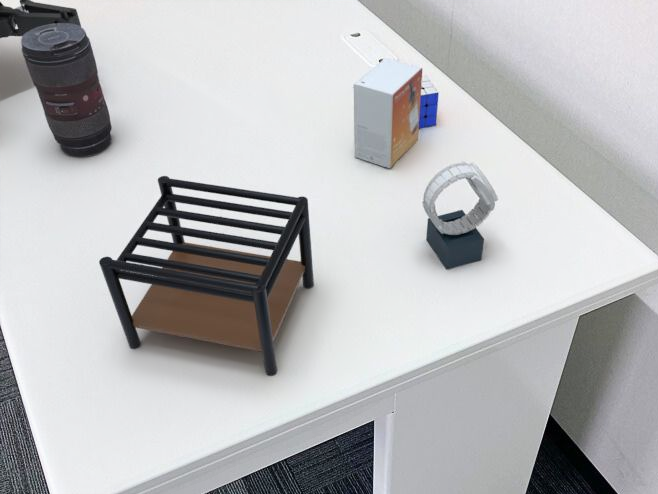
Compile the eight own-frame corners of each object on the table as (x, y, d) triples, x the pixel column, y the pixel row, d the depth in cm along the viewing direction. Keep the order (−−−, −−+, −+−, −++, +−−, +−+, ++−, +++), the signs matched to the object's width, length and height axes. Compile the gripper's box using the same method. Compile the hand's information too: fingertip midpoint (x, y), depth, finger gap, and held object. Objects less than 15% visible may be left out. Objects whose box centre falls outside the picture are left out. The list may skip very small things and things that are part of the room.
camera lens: (129, 142, 101) (99, 35, 90) (76, 167, 97) (38, 58, 86) (97, 120, 105) (65, 14, 93) (45, 143, 101) (5, 35, 90)
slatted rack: (127, 347, 76) (96, 263, 67) (181, 259, 85) (160, 174, 76) (275, 376, 73) (262, 292, 64) (315, 281, 82) (309, 196, 73)
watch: (496, 255, 84) (510, 175, 76) (431, 273, 83) (439, 192, 74) (474, 226, 88) (485, 146, 80) (412, 242, 86) (416, 162, 78)
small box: (390, 170, 96) (392, 95, 88) (353, 157, 98) (352, 83, 90) (419, 140, 100) (424, 66, 92) (383, 128, 102) (385, 55, 94)
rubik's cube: (390, 112, 105) (391, 80, 101) (424, 107, 106) (426, 74, 102) (401, 131, 102) (403, 98, 98) (436, 125, 102) (438, 92, 99)
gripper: (55, 9, 116) (128, 55, 106) (-104, 65, 105) (-39, 123, 95) (39, -42, 111) (115, 2, 100) (-130, 12, 100) (-64, 67, 89)
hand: (40, 61), depth 98 cm, fingers open, 13 cm apart
